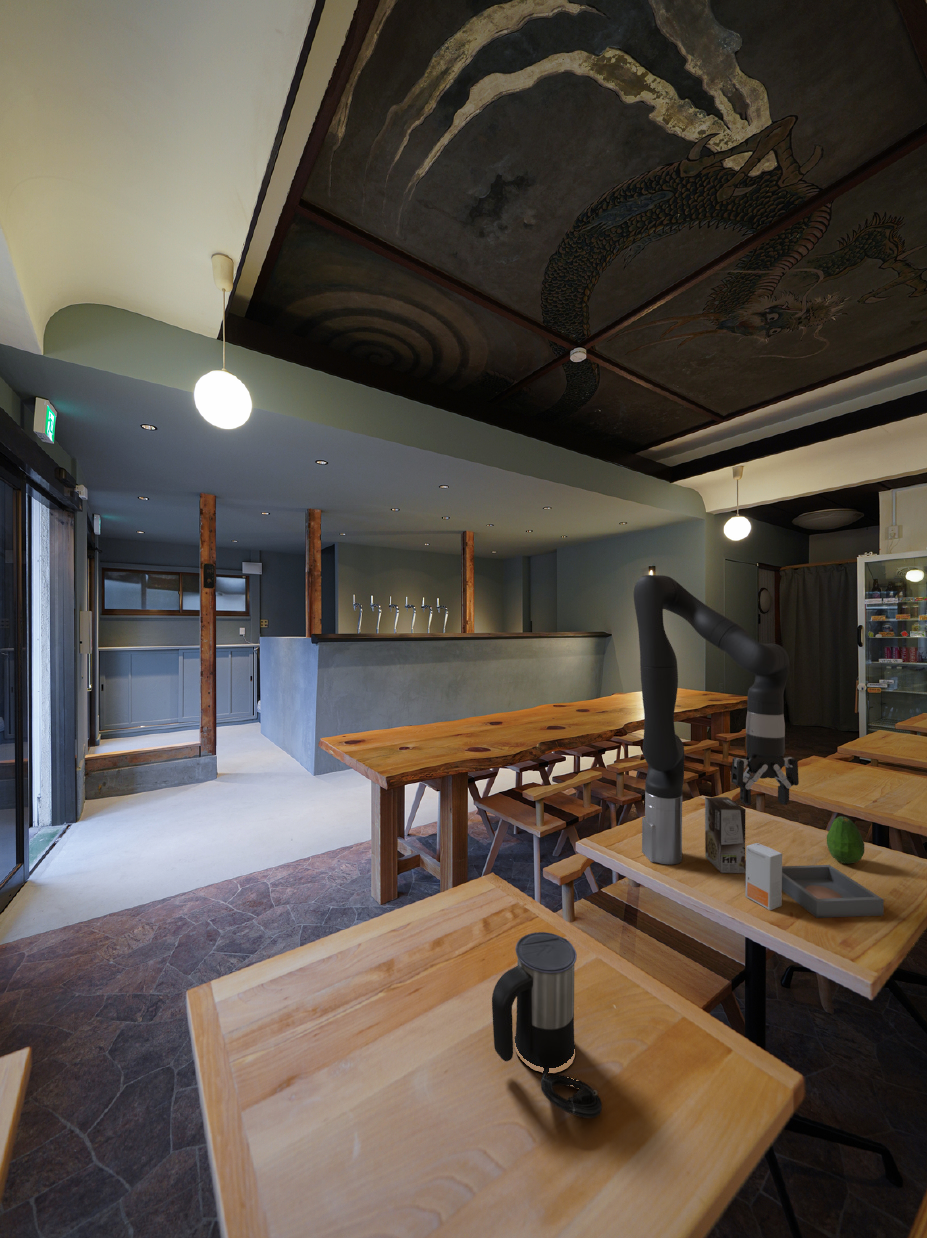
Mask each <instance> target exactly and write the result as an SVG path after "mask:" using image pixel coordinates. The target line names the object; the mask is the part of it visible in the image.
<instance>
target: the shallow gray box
mask: <svg viewBox="0 0 927 1238" xmlns="http://www.w3.org/2000/svg"><path fill="white" fill-rule="evenodd" d="M782 892H784V893H785V894H786V895H787V896H789V897H790V898H791V899H792V900H794V901H795V902H796V903H797V904H798V905H800V906H802V908H803V909H804V910H806V911H808V912H809V913H811V915H813V916H814V917H815V918H816V919H822V918H823V919H824V918H846V917H847V918H848V917H850V918H851V917H872V916H873V917H876V916H877V917H878V916H884V898H882V897H880V896H879V895H878V894H876V893H874V891H871V890H870V889H868V888H866V887H865V886H863V885H862V884H861V883H859V882H857V881H856V880H854V879H853V878H851V877H849V876H848V875H846V874H844V873H843V872H841V871H840V870H838V869H836V868H835V867H833V866H832V865H831V864H816V865H815V864H814V865H813V864H812V865H811V864H810V865H809V864H808V865H782Z"/></svg>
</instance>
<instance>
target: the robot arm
mask: <svg viewBox="0 0 927 1238" xmlns="http://www.w3.org/2000/svg"><path fill="white" fill-rule="evenodd" d="M633 602H634V609H635V614H636V615H635V616H636V621H637V623H636V624H637V628H638V629H637V631H638V645H639V656H640V657H639V660H640V661H639V663H640V664H639V665H640V666H639V667H640V669H639V670H640V683H641V695H642V697H641V698H642V704H643V705H642V706H643V715H644V718H643V719H644V722H643V723H644V724H643V742H642V754H643V758H644V760H645V762H646V763H647V774H646V778H645V784H644V786H645V787H644V791H645V792H644V793H645V795H644V796H645V797H644V800H645V801H644V804H645V805H644V806H645V807H644V810H645V811H644V816H642V817H641V818H642V820H641V824H642V825H641V852H642V853H643V855H645V857H646V859H648V860H649V861H650V863H658V864H662V865H668V866H669V865H678V864H680V863H681V862H682V861H683V860H682V859H683V787H684V782H685V781H684V780H685V747H684V744H683V741H682V739H681V738H680V737H679V736H678V734H676V731H675V730H676V729H675V728H676V727H675V709H676V702H677V697H678V696H677V695H678V689H679V688H678V686H679V672H678V669H679V668H678V659H677V656H676V652H675V650H674V648H673V646H672V644H671V642H670V640H669V638H668V636H667V634H666V631H665V625H664V610H666V611H669V612H671V613H674V614H676V615H677V616H679V617H681V618H683V619H684V620H685V621H687V622H688V623H689V624H690V625H691V627H692V628H693V629H694V631H696V633H697V634H699V636H701V637H702V638H703V639H704V640H706V641H708V642H709V643H710V644H712V645H713V646H714V647H716V648H718V649H720V651H722V652H725V653H726V654H727V655H728V656H729V657H730V658H731V659H732V660H733V661H734V662H735V663H736V664H737V665H738V666H739V667H740V668H742V669H743V670H745V671H746V672H748V673H750V674H751V675H754V676H755V677H754V683H753V684H752V685H751V686H750V687H749V688H748V691H747V699H746V700H747V702H746V703H747V708H746V709H747V711H746V712H747V714H746V719H745V720H746V721H745V750H746V757H745V758H740V757H736V756H734V757H732V761H731V762H732V764H731V765H732V766H731V778H730V781H731V783H732V784H734V785H736V786H738V787H739V800H740V801H741V804H744V805H745V806H751V805H752V789H751V788H752V786H753V785H754V784H755V783H757V782H758V781H759V779H760V780H761V779H762V780H763V779H775V780H776V783H778V784H779V785H778V786H777V802H778V803H779V804H780V805H783V806H785V805H788V803H789V801H790V789H791V788H792V787H793V786H798V785H799V783H800V782H799V781H800V780H799V762H798V760H797V759H796V758H795V757H792V756H789V755H787V756H785V757H784V755H786V754H785V753H786V745H785V743H786V742H785V738H786V735H785V734H786V724H785V717H784V716H785V715H784V709H785V708H784V707H785V706H784V705H785V704H784V693H785V689H786V686H787V680H788V677H789V676H788V675H789V671H790V657H789V655H788V653H787V650H786V649H784V647H783V646H782V645H779V644H777V643H761V642H759V641H758V640H756V639H754V638H752V637H751V636H750V634H749V631H748V630H747V629H745V628H744V627H743V626H741V625H740V624H738V623H736V622H734V621H733V620H731V619H729V618H728V617H726V616H724V615H723V614H721V613H720V612H718V611H716V610H714V609H713V608H711V607H710V606H708V605H707V604H705V603H704V602H702V601H701V600H699V599H698V598H697V597H695V596H694V595H693V594H692V593H690V592H689V591H688V590H687V589H686V588H685V587H684V586H682V585H681V584H680V583H679V582H678V581H677V580H675V579H674V578H672V577H670V576H669V575H663V574H662V575H660V574H658V575H657V574H646V575H642V576H641V577H640V578H638V579H637V581H636V582H635V585H634V587H633ZM746 766H747V768H746ZM784 767H785V773H784V772H783V770H782V768H784ZM744 769H745V771H744Z"/></svg>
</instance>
